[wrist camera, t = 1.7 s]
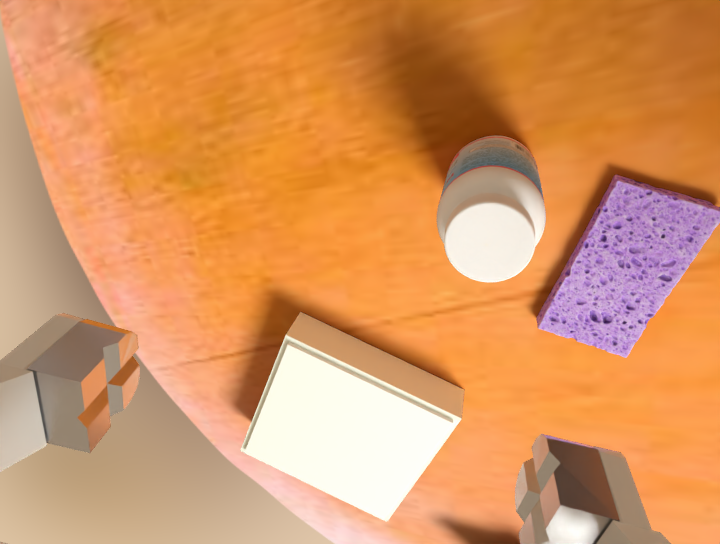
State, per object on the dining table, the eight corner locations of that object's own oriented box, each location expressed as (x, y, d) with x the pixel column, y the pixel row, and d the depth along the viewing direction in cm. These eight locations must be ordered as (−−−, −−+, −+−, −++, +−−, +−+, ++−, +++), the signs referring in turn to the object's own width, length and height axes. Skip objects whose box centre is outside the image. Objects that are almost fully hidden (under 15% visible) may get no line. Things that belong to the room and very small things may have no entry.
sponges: (535, 315, 41) (536, 328, 39) (613, 168, 35) (619, 177, 33) (621, 345, 40) (626, 360, 39) (718, 202, 34) (729, 212, 32)
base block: (464, 389, 45) (461, 422, 42) (393, 491, 54) (386, 525, 50) (300, 311, 46) (284, 337, 42) (255, 424, 54) (238, 453, 51)
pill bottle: (437, 148, 36) (414, 204, 27) (527, 121, 34) (536, 172, 24) (461, 226, 38) (446, 303, 29) (546, 205, 36) (561, 282, 27)
